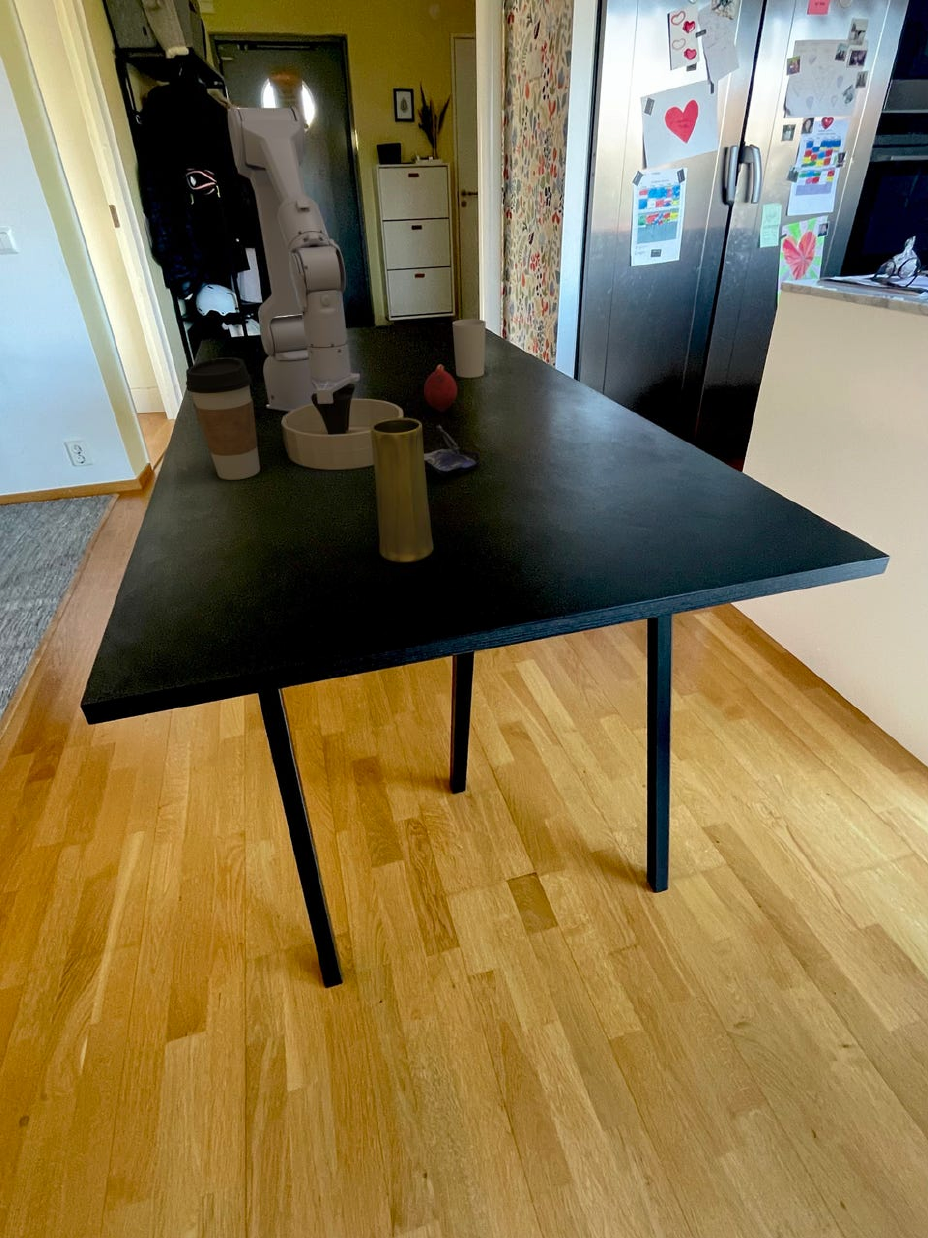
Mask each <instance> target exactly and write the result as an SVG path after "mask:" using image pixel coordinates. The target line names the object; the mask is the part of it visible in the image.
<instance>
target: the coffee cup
mask: <svg viewBox="0 0 928 1238" xmlns="http://www.w3.org/2000/svg"><path fill="white" fill-rule="evenodd" d="M185 374H186V375H185V377H186V381H185V386H186V390H187V391H189V392H190V393H191V396H192V400H193V402H194V403H193V408H194V410H195V413H196V417H197V418H198V422H199V425H200V427H201V430H202V433H203V436H204V439H205V442H206V444H207V447H208V450H209V452H210V455H211V458H212V461H213V464H214V467H215V470H216V473H217V476H218V477H219V478H220V479H222V480H228V481H232V480H233V481H236V480H244V479H248V478H252V477H254V476H256V475H257V474H259V473H260V471H261V465H260V458H259V450H258V440H257V439H258V438H257V430H256V419H255V409H254V400H253V397H252V396H251V389H250V387H251V386H250V385H252V382H253V381H252V379H251V375H250V373H248V369H247V366H246V363H245V361H244V359H242V358H238V357H233V356H232V357H231V356H230V357H229V356H227V357H214V358H210V359H205V360H203V361H200V362H197V363H196V364H194V365H193V364H192V365H191V366H189V367H188V368H187V369H186V370H185Z"/></svg>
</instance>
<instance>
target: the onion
mask: <svg viewBox="0 0 928 1238" xmlns="http://www.w3.org/2000/svg"><path fill="white" fill-rule="evenodd" d="M423 385H424V386H423V393H424V398H425V400H426V402H427V404H428V405H430V407H431V408H433V409H434V410H436V411H438V412H439V413H444V412H446V410H448V409H449V408H450V407H451V406H452V405H453V403H455V401H456V399H457V396H458V386H457V383H456V380H455V379H454V377H453V376H452V375H451V374H450V373H449V372H448V371H446V370H445V366H444V365H443V364H438V365H437V366H436V368H435V370H434V371H433V372H432V373H430V374H429V376H428V377H427V379H426V380H425V382H424V384H423Z"/></svg>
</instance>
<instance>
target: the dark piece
mask: <svg viewBox="0 0 928 1238" xmlns="http://www.w3.org/2000/svg"><path fill="white" fill-rule="evenodd" d="M430 428H433V425H432V426H430ZM435 428H436V430H437V432H439V434H442V438H443V439H444V441H445V443H446V445H447V446H448V447H449V448H448V449H445V448H444V449H443V448H441V449H438V450H434V451H432V452H429V453H428V452H427V453H424V463H425V470H429V471H430V470H433V471H435V472H436V473H437V474H439V475H440V476H441V477H442V478H444V477H445V476H447V474H449V473H451V472H452V471H455V470H457V471H458V472H459V474H460V475H462V474H464V473H465V472H468V471H469V472H470V471H471V470H473V469H474V468H475V467H476V466H477V465H479V464H481V460H480V456H479V453H478V452H475V451H473V452H470V451H468V450H467V449H462V448H461V447H460V446H459V445H458V443H457V442H455V441H454V439H453V438H452V437H451V436H450V434H448V433H447V432H446V431H445V430H444V428H442V426H441V425H440V423H438V424H437V425H436V426H435ZM453 477H454V478H455V477H456V475H455V476H453ZM441 482H442V483H443V482H444V480H441Z"/></svg>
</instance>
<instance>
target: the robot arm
mask: <svg viewBox="0 0 928 1238" xmlns="http://www.w3.org/2000/svg"><path fill="white" fill-rule="evenodd" d="M227 124H228V132H229V138H230V143H231V148H232V155H233V159H234V164H235V167H236V169H237V174H239V175H240V176H243V177H245V178H248V179H249V180H250V182H251V183H250V184H251V186H252V188H253V191H254V194H255V200H256V206H257V212H258V219H259V224H260V230H261V236H262V242H263V243H262V244H263V248H264V254H265V260H266V266H267V273H268V277H269V278H268V279H269V284H270V291H271V293H270V295H269V297H267V298H266V300H265V301H264V302H263V303H262V304H260V306H259V308H258V312H257V314H258V319H259V323H258V325H259V335H260V339H261V343H262V347H263V350H264V352H265V354H266V355H268V356H267V357H266V359H264V363H263V368H262V369H263V370H262V373H263V378H264V384H265V390H266V395H267V400H268V404H266V405H265V408H266V409H270V410H275V411H276V410H277V411H281V412H287V413H289V412H290V411H292V410H295V409H297V408H300V407H302V406H305V405H309V404H314V406H315V407H316V408H317V410H318V411H319V413H320V415H321V417H322V419H323V421H324V424H325V426H326V429H327V432H328V435H336V434H346V430H349V415H350V405H351V399H353V395H354V392H355V390H356V384H355V383H356V382H359V381H360V380H361V375H360V373H358V372H357V373H355V372H354V373H352V370H351V361H350V352H349V344H348V334H347V325H346V317H345V309H344V301H343V293H345V291H346V286H347V275H346V268H345V262H344V258H343V254H342V251H341V249H340V247H339V245H338V244H337V243H336V242H335V240H334V239H333V238H330V237H329V234H328V232H327V229H326V225H325V223H324V218H323V219H322V217H323V216H322V214H321V212H320V208H319V206H318V204H317V202H315V201H316V200H313V199H312V198H311V197H308V196H307V193H306V187H305V185H304V180H303V176H302V171H301V165H302V163H304V158H305V155H306V152H307V138H306V130H305V125H304V120H303V117H302V114H301V113H300V111H299V110H298V108H296V106H290V107H236V106H230V109H229V110H228V112H227ZM340 291H341V292H342V294H341V293H340Z"/></svg>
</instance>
